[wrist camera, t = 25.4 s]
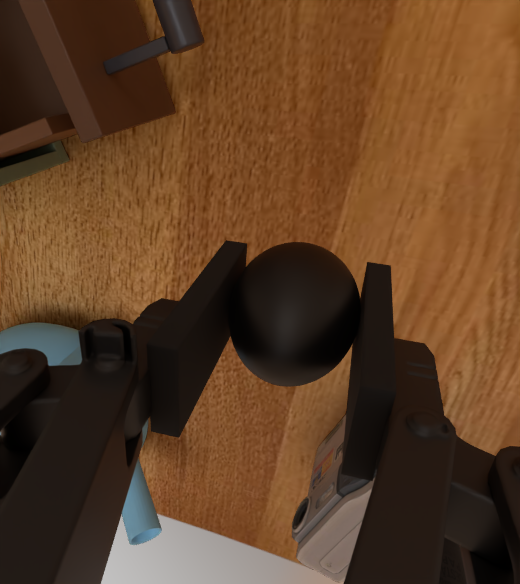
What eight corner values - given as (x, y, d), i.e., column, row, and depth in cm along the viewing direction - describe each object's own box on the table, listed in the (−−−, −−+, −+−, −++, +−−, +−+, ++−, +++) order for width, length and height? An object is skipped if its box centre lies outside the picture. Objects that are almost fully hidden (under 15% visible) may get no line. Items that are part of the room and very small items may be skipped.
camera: (376, 360, 35) (375, 464, 26) (443, 399, 35) (463, 515, 27) (298, 449, 41) (276, 559, 32) (356, 483, 41) (349, 600, 32)
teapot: (43, 252, 37) (-97, 338, 26) (251, 395, 39) (200, 530, 28) (-21, 397, 47) (-144, 504, 36) (148, 506, 49) (80, 639, 38)
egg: (272, 207, 16) (232, 271, 12) (384, 259, 16) (385, 341, 11) (231, 302, 18) (184, 386, 14) (330, 348, 18) (315, 447, 14)
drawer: (176, -162, 23) (74, -265, 16) (252, 85, 28) (201, 100, 20) (-86, -11, 29) (-252, -31, 22) (9, 172, 34) (-101, 209, 26)
